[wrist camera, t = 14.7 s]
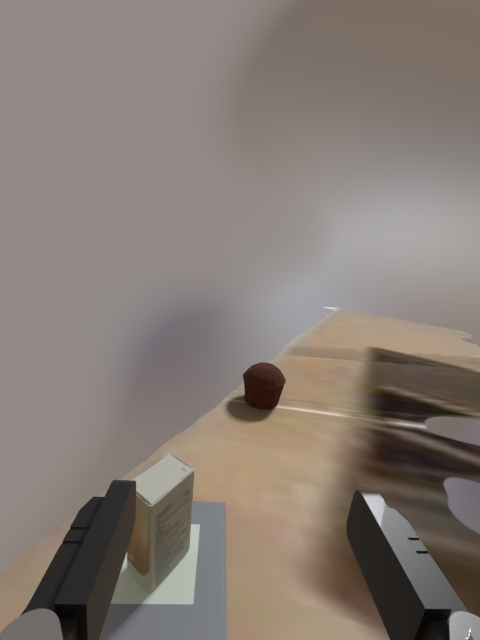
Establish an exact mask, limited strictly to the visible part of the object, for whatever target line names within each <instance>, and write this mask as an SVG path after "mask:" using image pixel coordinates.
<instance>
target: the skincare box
mask: <svg viewBox="0 0 480 640" xmlns="http://www.w3.org/2000/svg"><path fill="white" fill-rule="evenodd" d="M130 481H136V517H135V524H134V529H133V533H132V537H131V540H130V543H129V546H128V550H127V568H128V569H129V570H130V572H131V573H132V574H133V576H134V577H135V578H136V579H137V580H138V582H139V583H140V584H141V585H142V586H143V587H144V588H145V590H146V591H147V592H148V593H151V592H153V590H154V589H155V588H156V587H157V586H158V585H159V584H160V583H161V582H162V581H163V580H164V578H165V577H166V576H167V575H168V574H169V573H170V572H171V570H172V569H173V568H174V567H175V566H176V565H177V564H178V562H179V561H180V560H181V559H182V558H183V556H184V555H185V554H186V553H187V552H188V550H189V548H190V532H191V515H192V498H193V481H194V469H192V468H191V467H189V466H188V465H187V464H185V463H184V462H182V461H181V460H180V459H178V458H177V457H175V456H173V455H172V454H170V453H169V454H167V455H166V456H164V457H162V458H161V459H159V460H158V461H156V462H155V463H153V464H152V465H151V466H149V467H148V468H146V469H145V470H144V471H142V472H141V473H139V474H138V475H137V476H135V477H134V478H133V479H131V480H130Z"/></svg>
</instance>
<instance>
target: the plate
mask: <svg viewBox="0 0 480 640" xmlns="http://www.w3.org/2000/svg"><path fill="white" fill-rule="evenodd" d="M99 640H227V637H226V503H215V502H192V515H191V532H190V548H189V550H188V552H187V553H186V554H185V555H184V556H183V558H182V559H181V560H180V561H179V562H178V564H177V565H176V566H175V567H174V568H173V569H172V570H171V572H170V573H169V574H168V575H167V576H166V577H165V578H164V580H163V581H162V582H161V583H160V584H159V585H158V586H157V587H156V588H155V589H154V590H153V592H151V593H148V592H147V591H146V590H145V588H144V587H143V586H142V585H141V584H140V583H139V582H138V580H137V579H136V578H135V577H134V576H133V574H132V573H131V572H130V570H129V569H128V568H127V553H126V556H125V559H124V562H123V565H122V568H121V572H120V575H119V578H118V581H117V584H116V587H115V591H114V594H113V597H112V600H111V603H110V606H109V610H108V613H107V616H106V619H105V622H104V625H103V628H102V632H101V635H100V638H99Z"/></svg>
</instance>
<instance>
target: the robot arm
mask: <svg viewBox="0 0 480 640" xmlns="http://www.w3.org/2000/svg"><path fill="white" fill-rule="evenodd" d="M135 517H136V481H129V480H113V481H112V483H111V485H110V487H109V489H108V491H107V493H106V495H105V497H93V498H92V499H91V500H90V501H89V502H88V503H87V504H86V505H85V506H84V507H82V508H81V509H80V511H79V512H78V514H77V516H76V518H75V520H74V521H73V523H72V525H71V527H70V530H69V531H68V532H67V534H66V536H65V538H64V540H63V543H62V545H60V547H59V549H58V551H57V553H56V555H55V556H54V558H53V560H52V562H51V564H50V566H49V567H48V569H47V571H46V573H45V575H44V577H43V578H42V580H41V582H40V584H39V586H38V588H37V589H36V591H35V593H34V595H33V597H32V599H31V600H30V602H29V604H28V605H27V607H26V609H25V610H24V611H23V613H22V614H21V615H20V616H19V617H18V618H16V619H15V620H13V621H12V622H11V623H10V624H9V625H7V626H6V627H5V628H4V629H3V630H2V631H1V633H0V640H99V638H100V635H101V632H102V628H103V625H104V622H105V619H106V616H107V613H108V610H109V606H110V603H111V600H112V597H113V594H114V591H115V587H116V584H117V581H118V578H119V575H120V572H121V568H122V565H123V562H124V559H125V556H126V553H127V550H128V546H129V543H130V540H131V537H132V533H133V529H134V524H135ZM347 535H348V539H349V543H350V545H351V547H352V550H353V552H354V555H355V557H356V559H357V562H358V564H359V566H360V569H361V571H362V574H363V576H364V578H365V581H366V583H367V585H368V588H369V590H370V592H371V595H372V597H373V600H374V602H375V604H376V607H377V609H378V611H379V614H380V616H381V618H382V621H383V623H384V626H385V628H386V630H387V633H388V635H389V637H390V640H480V618H479V617H477V616H475V615H473V614H471V613H469V612H468V611H467V609H466V608H465V606H464V605H463V603H462V602H461V600H460V599H459V597H458V596H457V594H456V593H455V591H454V590H453V588H452V587H451V585H450V584H449V582H448V581H447V579H446V578H445V576H444V575H443V573H442V572H441V570H440V569H439V567H438V566H437V564H436V563H435V561H434V560H433V558H432V557H431V555H429V554H428V551H427V549H426V548H425V546H424V545H423V543H422V542H421V541H419V537H418V536H417V534H416V533H415V531H414V530H413V528H412V527H411V525H410V524H409V522H408V521H407V520H406V519H405V518H403V517H402V516H401V515H400V514H399V513H398V512H397V511H396V510H395V509H393V508H388V506H387V504H386V503H385V501H384V500H383V498H382V496H381V495H380V494H379V493H378V492H376V491H355V493H354V495H353V499H352V503H351V507H350V512H349V516H348V520H347Z"/></svg>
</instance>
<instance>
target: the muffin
mask: <svg viewBox="0 0 480 640" xmlns="http://www.w3.org/2000/svg"><path fill="white" fill-rule="evenodd" d="M243 378H244V385H245V401H246V402H247V403H248V404H249V405H250V406H252V407H256V408H259V409H272V408H273V407H274V406H276V405H277V404H278V401H279V398H280V395H281V392H282V389H283V387H284V384H285V382H286V380H285V378H284V376H283V374H282V372H281V371H280V370H279V369H278V368H277V367H276V366H274V365H273V364H270V363H258V364H255V365H252V366H251V367H250V368H249V369H248V370H247V371H246V372H245V373H244V374H243Z"/></svg>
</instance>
